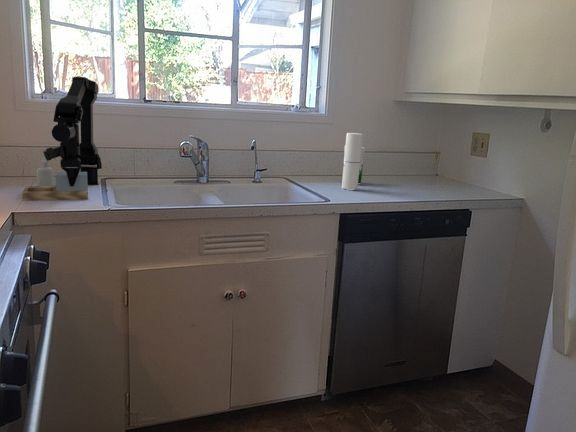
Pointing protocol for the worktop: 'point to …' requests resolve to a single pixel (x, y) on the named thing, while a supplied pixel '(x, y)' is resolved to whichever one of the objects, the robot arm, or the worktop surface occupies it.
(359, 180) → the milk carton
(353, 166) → the cylindrical container
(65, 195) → the socket board
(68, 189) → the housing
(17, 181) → the worktop surface
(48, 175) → the eye dropper bottle
